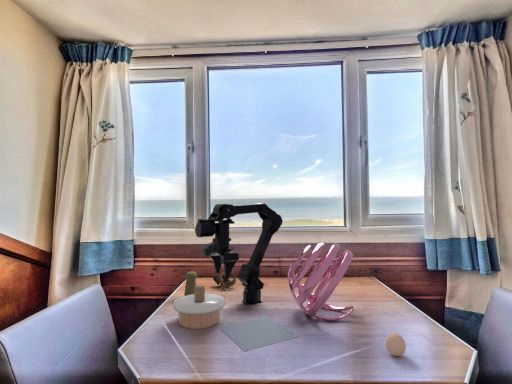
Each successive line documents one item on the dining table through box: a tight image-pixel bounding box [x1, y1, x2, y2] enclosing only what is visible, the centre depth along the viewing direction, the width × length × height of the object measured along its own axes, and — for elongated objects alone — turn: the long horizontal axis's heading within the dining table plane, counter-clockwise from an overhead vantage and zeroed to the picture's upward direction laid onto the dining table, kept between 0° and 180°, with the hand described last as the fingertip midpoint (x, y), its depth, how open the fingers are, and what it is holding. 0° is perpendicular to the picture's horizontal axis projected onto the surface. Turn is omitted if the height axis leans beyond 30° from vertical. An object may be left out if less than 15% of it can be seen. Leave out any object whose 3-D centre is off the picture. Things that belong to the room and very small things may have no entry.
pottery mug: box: [212, 271, 237, 291], centre depth 152 cm, size 12×10×8 cm
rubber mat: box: [217, 316, 300, 353], centre depth 99 cm, size 19×19×1 cm
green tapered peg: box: [183, 271, 198, 296], centre depth 137 cm, size 6×6×11 cm
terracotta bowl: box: [177, 309, 221, 330], centre depth 109 cm, size 14×14×6 cm
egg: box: [385, 332, 407, 357], centre depth 85 cm, size 5×5×6 cm
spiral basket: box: [287, 241, 355, 322], centre depth 115 cm, size 28×28×27 cm
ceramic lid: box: [172, 284, 226, 314], centre depth 109 cm, size 18×18×6 cm
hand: (222, 275), depth 122 cm, fingers open, 9 cm apart
